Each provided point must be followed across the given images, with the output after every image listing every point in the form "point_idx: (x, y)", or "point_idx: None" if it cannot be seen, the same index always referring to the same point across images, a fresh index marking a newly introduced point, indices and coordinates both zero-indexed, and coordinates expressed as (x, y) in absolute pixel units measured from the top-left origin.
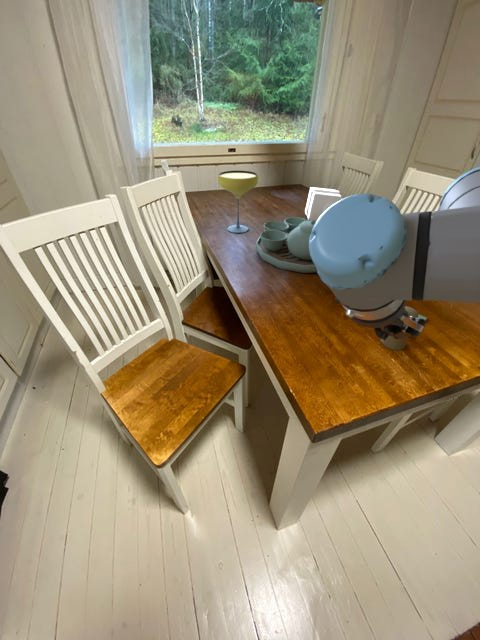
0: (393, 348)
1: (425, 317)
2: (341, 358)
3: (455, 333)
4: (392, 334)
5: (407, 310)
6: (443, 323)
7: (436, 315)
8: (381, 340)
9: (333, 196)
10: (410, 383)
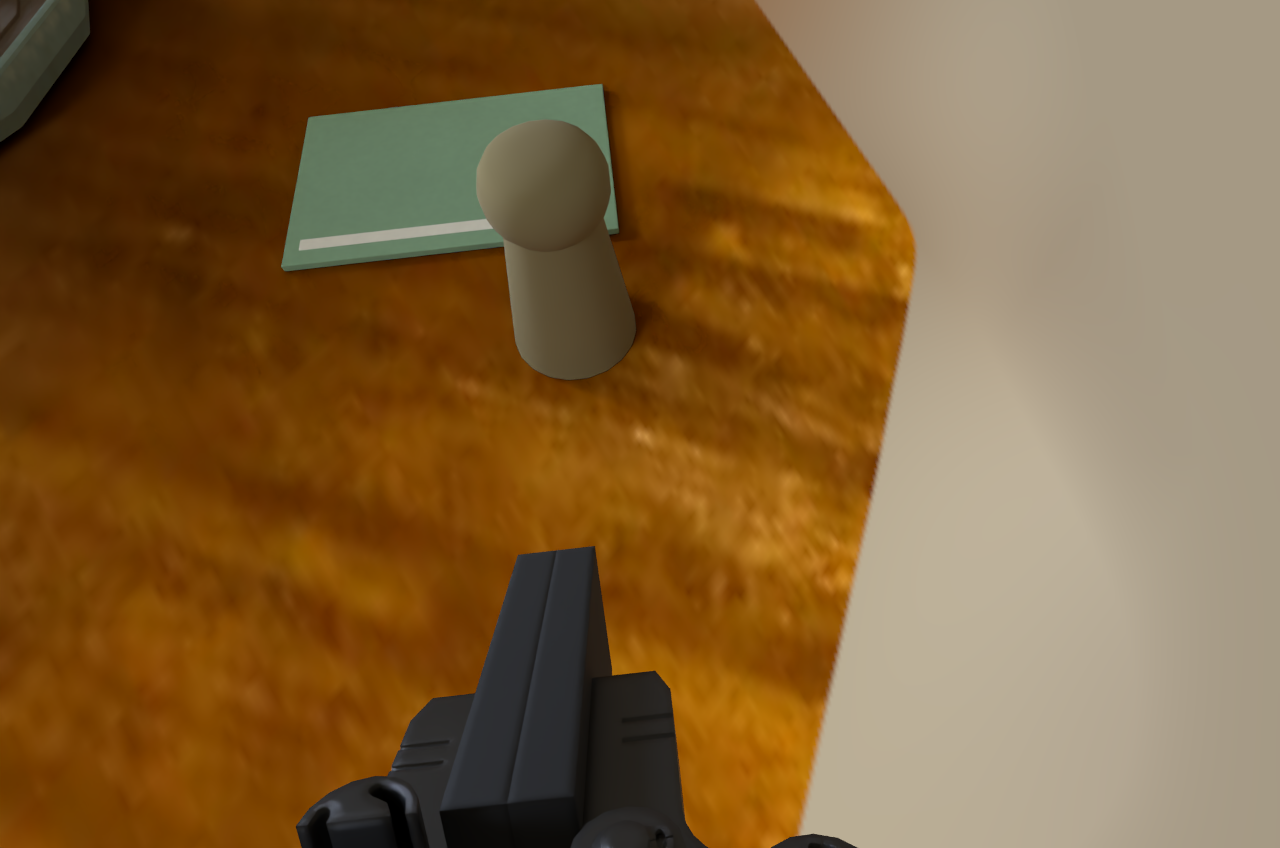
0: (602, 366)
1: (594, 86)
2: (434, 662)
3: (734, 86)
4: (679, 769)
5: (532, 157)
6: (667, 67)
7: (620, 45)
8: (527, 360)
9: None
10: (793, 510)
